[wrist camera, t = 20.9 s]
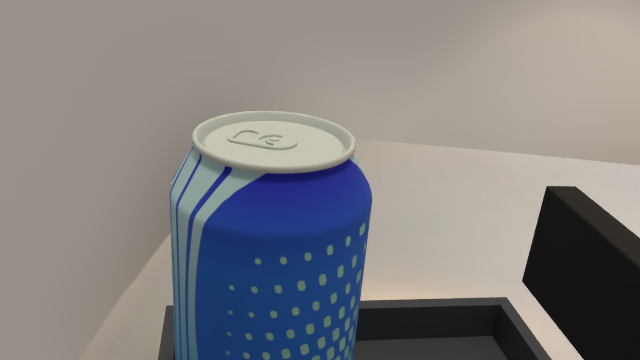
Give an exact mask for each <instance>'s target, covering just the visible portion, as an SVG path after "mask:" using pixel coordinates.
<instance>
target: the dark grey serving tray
mask: <svg viewBox="0 0 640 360" xmlns="http://www.w3.org/2000/svg"><path fill="white" fill-rule="evenodd" d="M158 360H175V337H174V307H173V306H166V312H165V318H164V325H163V331H162V338H161V344H160V350H159V357H158ZM353 360H551V358H550V357H549V355H548V354H547V353H546V351H545V350H544V349H543V347H542V346H541V344H540V343H539V342H538V340H537V339H536V337H535V336H534V335H533V333H532V332H531V331H530V329H529V328H528V326H527V325H526V324H525V322H524V321H523V319H522V318H521V317H520V315H519V314H518V312H517V311H516V310H515V308H514V307H513V306H512V304H511V303H510V301H509V300H508V299H507V297H497V298H495V297H494V298H453V299H412V300H371V301H360V305H359V313H358V321H357V330H356V338H355V346H354V354H353Z"/></svg>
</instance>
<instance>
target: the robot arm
mask: <svg viewBox="0 0 640 360" xmlns="http://www.w3.org/2000/svg"><path fill="white" fill-rule="evenodd" d="M522 282H523V283H524V284H525V286H526V287H527V288H528V289H529V291H530V292H531V293H532V295H533V296H534V297H535V298H536V300H537V301H538V302H539V303H540V305H541V306H542V307H543V308H544V310H545V311H546V312H547V314H548V315H549V316H550V317H551V319H552V320H553V321H554V322H555V324H556V325H557V326H558V328H559V329H560V330H561V331H562V333H563V334H564V335H565V336H566V338H567V339H568V340H569V341H570V343H571V344H572V345H573V347H574V348H575V349H576V350H577V352H578V353H579V354H580V355H581V357H582V358H583V359H584V360H640V238H639V237H638V236H636V235H635V234H634V233H633V232H631V231H630V230H629V229H628V228H626V227H625V226H624V225H623V224H622V223H620V222H619V221H618V220H617V219H615V218H614V217H613V216H612V215H610V214H609V213H608V212H607V211H605V210H604V209H603V208H602V207H600V206H599V205H598V204H597V203H595V202H594V201H593V200H592V199H590V198H589V197H588V196H587V195H585V194H584V193H583V192H582V191H580V190H579V189H578V188H577V187H571V186H547V187H546V191H545V194H544V198H543V202H542V206H541V210H540V214H539V218H538V222H537V225H536V229H535V233H534V237H533V241H532V245H531V249H530V252H529V256H528V260H527V264H526V268H525V272H524V276H523V279H522Z"/></svg>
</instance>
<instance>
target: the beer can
mask: <svg viewBox="0 0 640 360" xmlns="http://www.w3.org/2000/svg"><path fill="white" fill-rule="evenodd" d="M192 144H193V147H192V149H191V151H190V152H189V154H188V155H187V157H186V159H185V160H184V162H183V163H182V165H181V166H180V168H179V169H178V171H177V172H176V174H175V176H174V178H173V180H172V183H171V187H170V218H171V247H172V277H173V307H174V337H175V360H353V354H354V346H355V338H356V330H357V321H358V313H359V305H360V296H361V288H362V280H363V271H364V263H365V255H366V246H367V238H368V230H369V222H370V213H371V205H372V193H371V189H370V186H369V183H368V181H367V179H366V177H365V175H364V174H363V172H362V170H361V168H360V166H359V164H358V162H357V160H356V158H355V156H354V154H353V153H354V152H355V147H356V143H355V139H354V137H353V136H352V134H351V133H350V132H348V131H347V130H346V129H344V128H343V127H341V126H339V125H337V124H335V123H333V122H330V121H327V120H325V119H321V118H318V117H313V116H309V115H304V114H298V113H291V112H280V111H248V112H238V113H231V114H226V115H221V116H218V117H214V118H212V119H209V120H207V121H205V122H203V123H201V124H200V125H198V126H197V127H196V128H195V130H194V132H193V134H192Z"/></svg>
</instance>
